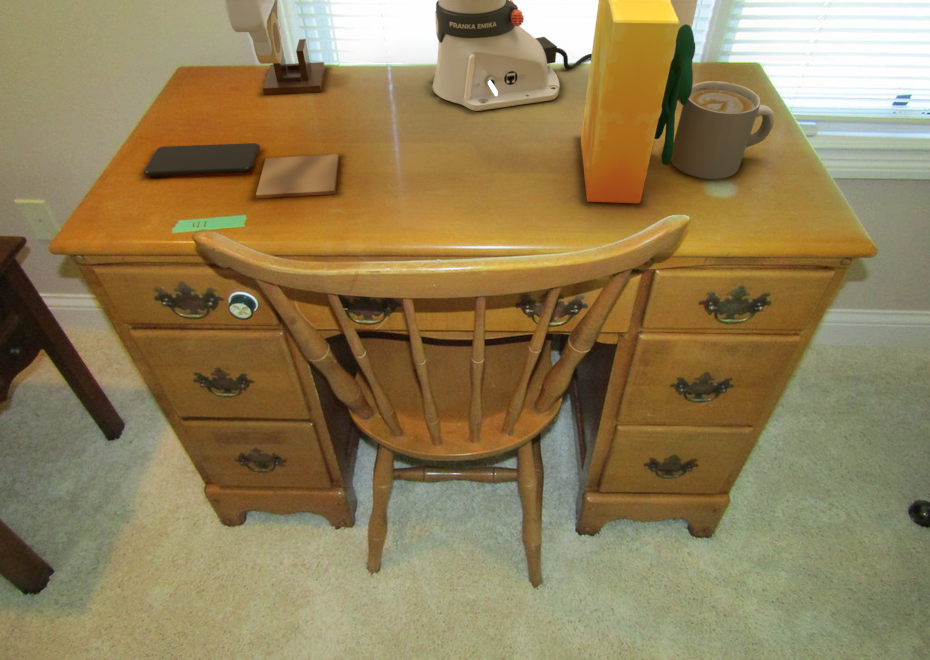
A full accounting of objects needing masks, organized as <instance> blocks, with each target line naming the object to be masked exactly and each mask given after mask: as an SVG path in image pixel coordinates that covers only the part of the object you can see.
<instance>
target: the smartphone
mask: <svg viewBox="0 0 930 660" xmlns="http://www.w3.org/2000/svg"><path fill="white" fill-rule="evenodd" d="M260 150H261V146H260V144H258V143H256V142H249V143H247V142H246V143H223V144H221V143H217V144H195V145H194V144H191V145H168V146H165V145H163V146H160V147H157V149H155V151H154V153H152V154H153V155H152V156H151V157H150V159H149V161H148V162H147V165H146V166H145V168H144V170H143V173H144V175H145V176H146V177H171V176H175V177H176V176H194V175H195V176H197V175H199V176H200V175H224V174H225V175H226V174H247V173H250V172H251V171H253V169H254V166H255V164H256V161H257V158H258V156H259V153H260Z"/></svg>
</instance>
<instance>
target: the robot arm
mask: <svg viewBox="0 0 930 660" xmlns="http://www.w3.org/2000/svg"><path fill="white" fill-rule="evenodd" d="M223 1H224V5H225V9H226V10H225V11H226V14H227V17H228V22H229V24H230V26H231V28H232V30H233V31H234V32H236V33H248V34H249V36H250V38H251V39H252V42H253V41H254V44H255V48H256V52H257V54H258V55H259V56H270V55H271V53H272V50H273V47H272V42H271V37H269V35H268V31H267V28H266V27H267V20H268V17H269V15H270V12H274V13H275V15H276V17H277V21H278V25H279V29H281V23H280V18H279V17H280V16H279V1H278V0H223ZM434 13H435V15H434V16H435V33H436V37H437V40H438V46H437V47H438V48H437V59H436V68H435V74H434V78H433V81H432V86H431V87H432V91H433V92H434V94H436V95H437V96H438V97H439V98H441V99H443V100H446V101H447V102H451V103H454V104H458V105H461V106H464V107H465V108H467V109H469V110H471V111H476V112H478V111H480V112H481V111H485V110H486V111H487V110H493V109H500V108H501V109H502V108H507V107H513V106H521V105H527V104H528V105H529V104H534V103H542V102H548V101H553V100H555V99H556V98H557V97H558V96H559V94H560V80H559V77H558V75H557V74H556V72H555V71H554V69H552V67H550V66H549V65H550V64H555V63H556V60H557V54H559V55H561V56H562V58H563V60H562V61H563V67H564V69H566V70H568V71H571V70H574V69H575V68H577V67H578V66H580V65H581V64H583V63H584V62H585V61H587V60H589V59H591V56H592V53H587V54H585V55H583V56H582V57H580V58H579V59H578V60H577V61H576V62H575V63H573V64H572V65H570V64H569V57H568V54H567V51H565V50H564V49H563V48H560V47H557V45H556V44H554V43H553V42H552V41H551V40H549V39H548V38H547V37H545V36H541V37H534V36H533V35H532V34H530V33H529V32H528V31H526V30H525V29H524V28H523V27H521V26H522V25H523V24H522V23H524V21H525V18H524V14H523V12H522V11H521V10H520V9H519V7H518V5H517V4H516V3H515V2H514V1H513V0H437V1H436V3H435V12H434ZM254 44H253V45H254Z"/></svg>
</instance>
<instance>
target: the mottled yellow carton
mask: <svg viewBox="0 0 930 660" xmlns="http://www.w3.org/2000/svg"><path fill="white" fill-rule="evenodd" d="M679 24H680V22H679V20H678V17H677V15H676V13H675V10H674V8H673V6H672V4H671V1H670V0H598V3H597V11H596V18H595V25H594V34H593V41H592V42H593V43H592V49H591V54H592V56H591V58H590V65H589V72H588V79H587V88H586V96H585V102H584V111H583V117H582V118H583V119H582V124H581V125H582V126H581V134H580V146H581V156H582V165H583V174H584V185H585V194H586V196H585V197H586V201H587V202H588V203H610V204H611V203H612V204H614V203H615V204H640V203H641V200H642V196H643V192H644V187H645V182H646V178H647V173H648V169H649V165H650V160H651V156H652V150H653V146H654V142H655V140H659V139H660V138H661V136H662V135H663V133H664V129H665V133H664V143H663V146H662V152H661V157H660V161H661V164H662V165H663V166H668V165H669V164H670V163H671V158H672V154H673V144H674V139H675V124H676V123H675V122H676V111H677V106H678V101H679V103H680V105H682V106H683V105H685V104H686V103H687V101H688V99H689V97H690V95H691V92H692V86H693V85H694V83H693V82H694V73H693V72H694V71H693V60H694V57H695V54H696V42H695V37H694V32H693V29H691V27H690V26H689V25H687V24H685V25H683V26H681V27H680V28H679ZM678 29H679V30H678ZM675 42H676V47H675ZM674 47H675V53H674V57H673V60H672V56H673V51H674Z"/></svg>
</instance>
